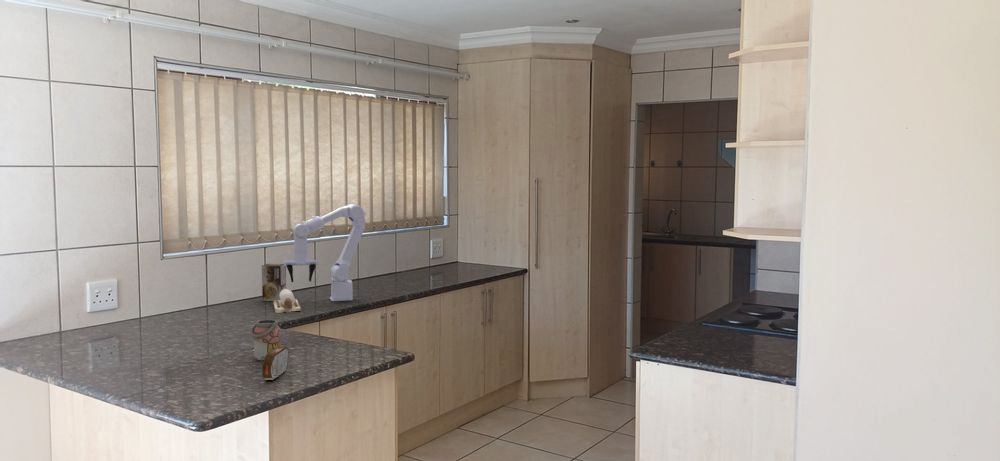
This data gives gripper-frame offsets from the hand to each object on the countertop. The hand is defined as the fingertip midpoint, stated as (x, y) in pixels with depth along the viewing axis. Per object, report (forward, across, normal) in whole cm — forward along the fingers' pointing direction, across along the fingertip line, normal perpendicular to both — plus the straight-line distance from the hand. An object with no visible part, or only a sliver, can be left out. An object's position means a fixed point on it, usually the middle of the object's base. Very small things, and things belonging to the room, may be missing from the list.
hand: (301, 281), depth 325 cm
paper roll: (+8, -7, -10) cm, 15 cm away
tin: (+10, -17, -111) cm, 113 cm away
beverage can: (+10, -19, -90) cm, 92 cm away
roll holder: (+9, -7, -10) cm, 15 cm away
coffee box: (+10, -11, +9) cm, 17 cm away
